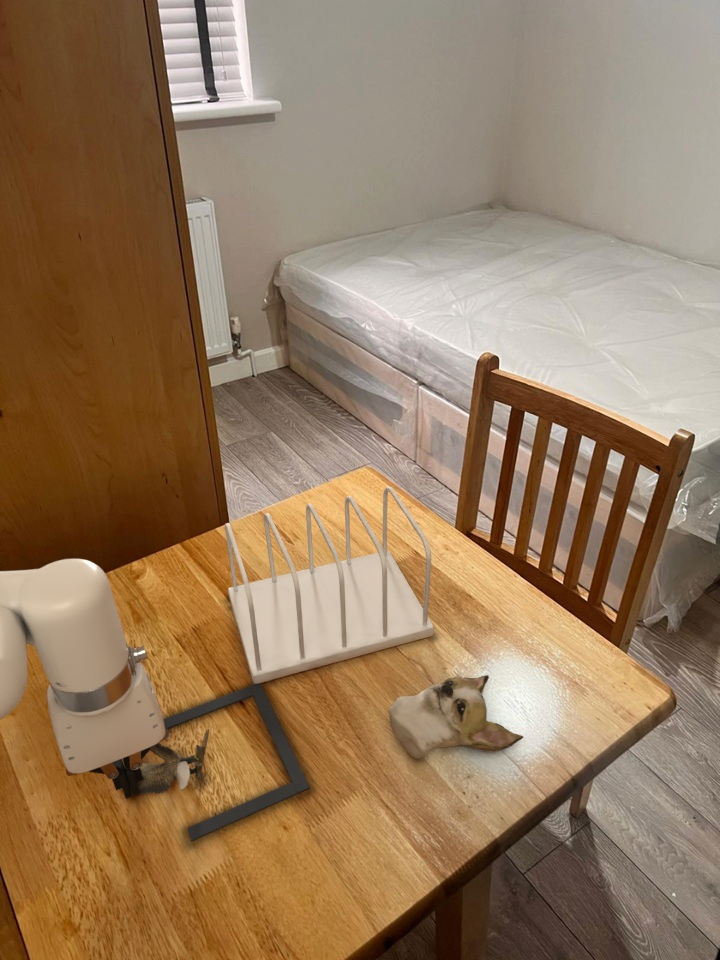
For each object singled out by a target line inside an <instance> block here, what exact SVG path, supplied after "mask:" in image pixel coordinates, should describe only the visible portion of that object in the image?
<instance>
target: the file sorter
mask: <svg viewBox="0 0 720 960" xmlns="http://www.w3.org/2000/svg"><path fill="white" fill-rule="evenodd" d="M389 494H390V495H391V496H392V498H393V500H394V501H395V502H396V504H397V506H398V507H399V509H400V510H401V511H402V513H403V514H404V515H405V517H406V518H407V521H409V523H410V525H411V526H412V528H413V529H414V531H415V532H416V534H417V535H418V537H419V538H420V540H421V542H422V545H423V549H424V552H425V577H424V588H423V589H424V591H423V603H422V605H423V606H422V605H421V602H420V601H419V599H418V597H417V596H416V594H415V593H414V591H413V589H412V588H411V586H410V584H409V582H408V580H407V579H406V578H405V577H406V576H404V574H403V572H402V571H401V569H400V567H399V565H398V563H397V562H396V560H395V558H394V557H393V555H392V554H391V552H390V550H388V495H389ZM350 505H351V507H352V508H353V510H354V511H355V514H356V516H357V517H358V519H359V520H360V522H361V524H362V526H363V527H364V529H365V531H366V533H367V535H368V536H369V537H370V539H371V541H372V543H373V545H374V547H375V548H376V551H377V552H375V553H370V554H368V555H363V556H357V557H354V558H352V557H351V553H352V552H351V531H350V530H351V527H350V526H351V523H350V522H351V521H350ZM311 515H312V516H313V519H314V521H315V523H316V525H317V526H318V528H319V530H320V532H321V535H322V537H323V538H324V541H325V542H326V544H327V546H328V549H329V550H330V553H331V554H332V557H333V559H334V562H332V563H327V564H323V565H319V566H315V565H314V564H315V563H314V551H313V548H314V547H313V534H312V533H313V532H312V516H311ZM305 519H306V534H307V547H308V563H309V568H306V569H302V570H298V571H297V570H296V568H295V566H294V563H293V561H292V559H291V556H290V554H289V551H288V549H287V547H286V545H285V543H284V542H283V539H282V537H281V535H280V532H279V531H278V529H277V526H276V524H275V523H274V520H273V518H272V515H271V514H270V513H269V512H265V513H264V514H263V523H264V524H263V525H264V532H265V539H266V547H267V554H268V560H269V568H270V574H271V575H270V576H271V577H267V578H264V579H259V580H255V581H251V582H249V578H248V576H247V573H246V569H245V567H244V563H243V560H242V557H241V554H240V551H239V547H238V544H237V541H236V538H235V535H234V532H233V531H234V530H233V528H232V526H231V524H230V522H227V523H226V522H225V523H224V530H225V539H226V544H227V545H226V546H227V554H228V560H229V568H230V574H231V582H232V586H231V587H229V588H227V594H228V599H229V603H230V607H231V610H232V614H233V618H234V621H235V624H236V627H237V632H238V635H239V638H240V642H241V645H242V648H243V652H244V655H245V659H246V663H247V666H248V669H249V674H250V676H251V677H250V678H251V680H252V683H253V685H254V684H259V683H261V684H262V683H264V682H269V681H272V680H276V679H279V678H284V677H286V676H290V675H294V674H297V673H301V672H305V671H308V670H312V669H316V668H320V667H323V666H327V665H330V664H331V665H332V664H334V663H338V662H342V661H345V660H349V659H354V658H356V657H360V656H363V655H368V654H371V653H375V652H378V651H381V650H382V651H383V650H385V649H386V650H387V649H389V648H393V647H396V646H400V645H404V644H407V643H411V642H416V641H418V640H422V639H425V638H426V639H427V638H430V637H432V636H434V625H433V623H432V621H431V620H430V618H429V603H430V590H431V588H430V587H431V576H432V575H431V572H432V552H431V551H432V550H431V547H430V544H429V541H428V539H427V537H426V535H425V533H424V532H423V530H422V529H421V527H420V525H419V524H418V523H417V521H416V519H415V518H414V517H413V516H412V514H411V512H410V511H409V509H408V508H407V507H406V505H405V503H404V502H403V501H402V500H401V498H400V497H399V495H398V493H397V492H396V491H395V489H394V488H393V487H392V486H386V487H384V488H383V495H382V545H381V543H380V541H379V540H378V538H377V536H376V534H375V533H374V531H373V529H372V528H371V526H370V524H369V522H368V521H367V520H366V517H365V516H364V514H363V512H362V510H361V509H360V507H359V505H358V504H357V502H356V500H355V499H354V498H353V496H352V495H347V496H345V498H344V520H345V522H344V524H345V547H346V548H345V551H346V552H345V553H346V554H345V555H346V559H345V560H341V558H340V556H339V553H338V551H337V549H336V548H335V545H334V544H333V542H332V539H331V538H330V536H329V535H330V534H329V533H328V532H327V530H326V528H325V526H324V524H323V522H322V520H321V518H320V516H319V514H318V512H317V510H316V508H315V506H314V505H313V504H312V503H307V504H306V507H305ZM270 529H271V530H270ZM271 531H272V533H273V535H274V537H275V540H276V542H277V544H278V546H279V548H280V551H281V553H282V555H283V557H284V560H285V562H286V563H287V566H288V569H289V571H290V572H288V573H284V574H280V575H276V570H275V569H276V568H275V561H274V554H273V548H272V538H271ZM233 553H234V554H233ZM234 556H235V560H236V563H237V566H238V569H239V572H240V576H241V579H242V582H243V584H239V585H238V584H237V583H238V582H237V575H236V574H237V573H236V567H235V560H234ZM314 566H315V567H314Z"/></svg>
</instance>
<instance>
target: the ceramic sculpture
mask: <svg viewBox="0 0 720 960" xmlns="http://www.w3.org/2000/svg"><path fill="white" fill-rule="evenodd" d="M489 678H490V676H489V674H488V675H487V674H485V675H481V676H478V677H466V676H465V677H462V676H454V677H452V678H451V677H450V678H447V679H446V680H444V681H442V682H441V683H436V684H432V685H430V686H429V687H427V688H425V689H423V690H422V691H421V692H419V693H416V694H415V695H401V696H398V697H397V698H396V700H395V701H394V702H393V703H392V705H391V706H390V708H389V709H388V715H389V716H388V717H389V718H388V719H389V725H390V728H391V731H392V733H393V735H394V737H395V738H396V739H397V740H398V741H399V743H400V745H401V746H402V747H403V748H404V749H405V750H406V751H407V753H408V754H409V755H410V756H411V757H412V758H413V759H416V760H417V759H421V758H423V757H424V756H426V755H427V754H428V753H429V752H430V751H431V750H433V749H441V748H445V747H457V746H465V747H467V748H472V749H475V750H477V751H481V752H488V753H492V752H493V753H494V752H500V751H502V750H506V749H508V748H509V747H512V746H514V745H515V744H517V743H518V742H519V741H521V740H522V739H524V736H523V735H521V734H518V733H514V732H512V731H511V730H509V729H507V728H505V726H504V725H502V724H500V723H497V722H493V721H488V720H487V715H488V710H487V703H486V700H485V699H484V696H483V692H484V690H485V687H486V684H487V683H488V681H489Z"/></svg>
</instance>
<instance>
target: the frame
mask: <svg viewBox="0 0 720 960" xmlns="http://www.w3.org/2000/svg"><path fill="white" fill-rule="evenodd" d="M252 697H253V699H254V701H255V704H256V707H257V709H258V711H259V713H260V715H261V717H262V720H263V722H264V724H265V726H266V728H267V730H268V733H269V735H270V737H271V739H272V741H273V744H274V746H275V748H276V750H277V753H278V755H279V757H280V759H281V761H282V764H283V766H284V768H285V770H286V772H287V774H288V777H289V779H290V781H291V782H289V783H287V784H284V785H281V786H279V787H277V788H275V789H273V790H270V791H268V792H266V793H264V794H262V795H258V796H257V797H255V798H252V799H250V800H248V801H245V802H243V803H241V804H238V805H236V806H234V807H232V808H230V809H228V810H225V811H223V812H220V813H218V814H215V815H214V816H211V817H209V818H208V819H205V820H203V821H200V822H198V823H195V824H193V825H191V826H189V827H187V831H188V834H189V837H190V841H191V842H193V841H196V840H198V839H201V838H203V837H206V836H207V835H210V834H211V833H214V832H216V831H219V830H220V829H222V828H223V829H224V828H225V827H227V826H230V825H232V824H234V823H237V822H238V821H241V820H243V819H245V818H247V817H250V816H252V815H254V814H257V813H258V812H260V811H263V810H265V809H268V808H270V807H272V806H274V805H276V804H279V803H281V802H283V801H286V800H288V799H290V798H292V797H295V796H297V795H299V794H301V793H303V792H305V791H308V790H310V785H309V783H308V780H307V779H306V777H305V774H304V772H303V770H302V768H301V766H300V763H299V761H298V759H297V757H296V755H295V753H294V751H293V749H292V747H291V745H290V743H289V741H288V739H287V736H286V734H285V731H284V730H283V728H282V725H281V724H280V721H279V719H278V716H277V714H276V713H275V711H274V709H273V706H272V705H271V702H270V700H269V698H268V696H267V694H266V691H265V689H264V687H263V685H262V683H259V684H254V683H253V684H252V685H249V686H245V687H244V688H242V689H241V688H240V689H238V690H235V691H233V692H231V693H227V694H226V695H223V696H220V697H217V698H215V699H212V700H209V701H207V702H205V703H202V704H199V705H197V706H194V707H191V708H189V709H185V710H183V711H181V712H179V713H176V714H172V715H171V716H168V717H165V718H163V721H164V722H165V723H166V725H167V727H168V730H169V729H173V728H176V727H177V726H180V725H183V724H185V723H189V722H190V721H193V720H195V719H199V718H201V717H203V716H205V715H206V716H207V715H208V714H211V713H214V712H216V711H219V710H221V709H224V708H226V707H229V706H231V705H234V704H236V703H239V702H241V701H244V700H247V699H250V698H252Z"/></svg>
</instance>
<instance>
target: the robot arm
mask: <svg viewBox="0 0 720 960" xmlns="http://www.w3.org/2000/svg"><path fill="white" fill-rule="evenodd" d="M27 645H31V646H33V647H34V649H35V651H36V654H37V656H38V659H39V661H40V662H41V665H42V668H43V671H44V673H45V675H46V678H47V681H48V682H49V686H48V688H47V690H46V700H47V707H48V708H47V709H48V714H49V718H50V722H51V726H52V730H53V733H54V737H55V741H56V744H57V747H58V750H59V752H60V756H61V759H62V761H63V764H64V768H65V774H66V776H67V777H72V776H76V775H81V774H84V773H87V772H89V773H94V774H101V775H105V776H106V778H107V779H109V780H112V783H113V787H114V789H115V791H120V790H122V792H123V795H124V798H125V800H127V799H130V798H131V796H133V795H134V794H135V795H134V796H138V795H137V794H139V793H140V790H139V786H138V782H139V781H141V780H143V776H142V772H141V769H140V767H141V765H142V760H143V759H144V758H145V757H146V755H147V754H148V753H149V752H151V751H150V749H151V748H152V746H153V745H156V744H158V743H160V744H161V743H162V742H163V741H165V740H167V739H168V738H169V737H170V736H171V734H170V731H169V729H168V727H167V725H166V723H165V722H164V721H163V719H164V718H163V714H162V712H161V707H160V704H159V701H158V697H157V695H156V692H155V689H154V686H153V684H152V681H151V678H150V676H149V674H148V671H147V670H146V668H145V666H144V665H143V663H142V661H145V660H147V659H148V655H147V652H146V648H145V645H142V646H138V647H136V646H135V647H132V645H129V646H128V642H127V638H126V636H125V632H124V629H123V625H122V621H121V618H120V615H119V611H118V608H117V604H116V601H115V598H114V594H113V591H112V587H111V584H110V581H109V578H108V576H107V574H106V573H105V571H104V570H103V568H102V567H100V566H99V565H98V564H96V563H94V562H93V561H91V560H88V559H84V558H83V559H82V558H63V559H60V560H55V561H53V562H50V563H48V564H46V565H43V566H42V567H40V568H33V569H20V570H19V569H18V570H1V571H0V720H2V719H4V718H6V717H7V716H8V715H10V714H11V713H12V712H13V711H14V710H15V709H16V708H17V706H18V705H19V704H20V702H21V700H22V699H23V696H24V694H25V691H26V689H27V684H28V670H29V669H28V647H27ZM129 783H130V784H129ZM130 786H131V788H130ZM131 789H132V792H133V794H132V792H131Z"/></svg>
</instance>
